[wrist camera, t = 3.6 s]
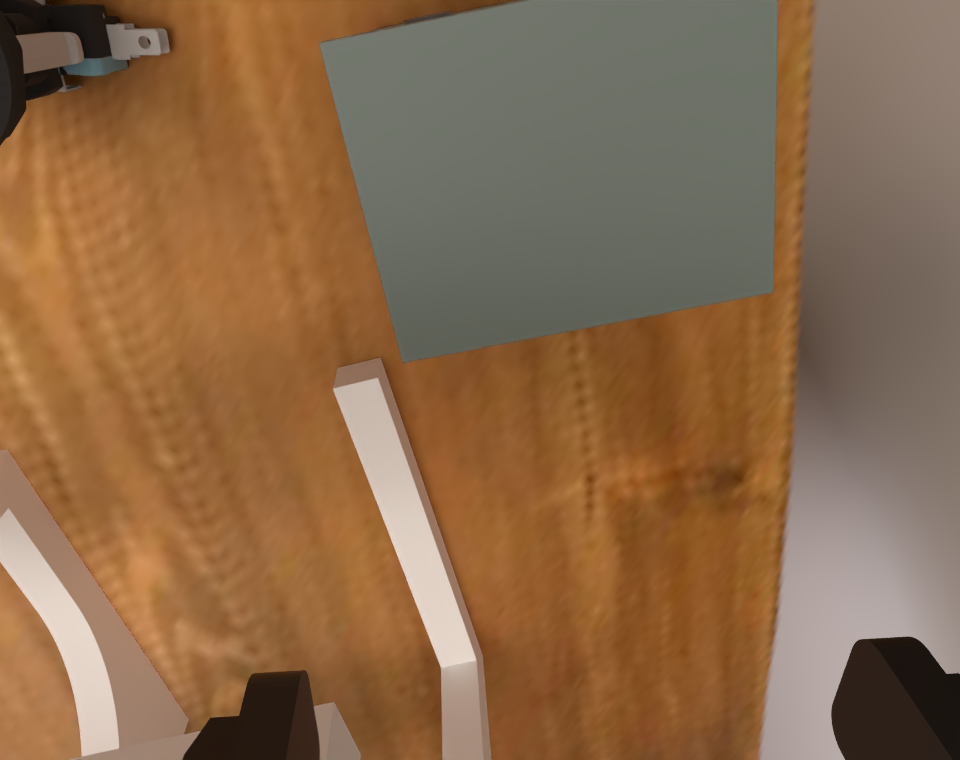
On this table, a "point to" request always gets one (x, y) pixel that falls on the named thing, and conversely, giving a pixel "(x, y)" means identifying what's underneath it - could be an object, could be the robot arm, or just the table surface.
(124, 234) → the table surface
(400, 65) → the box
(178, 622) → the table surface
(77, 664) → the bookend
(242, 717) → the robot arm
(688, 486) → the table surface
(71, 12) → the push button
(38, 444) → the table surface
